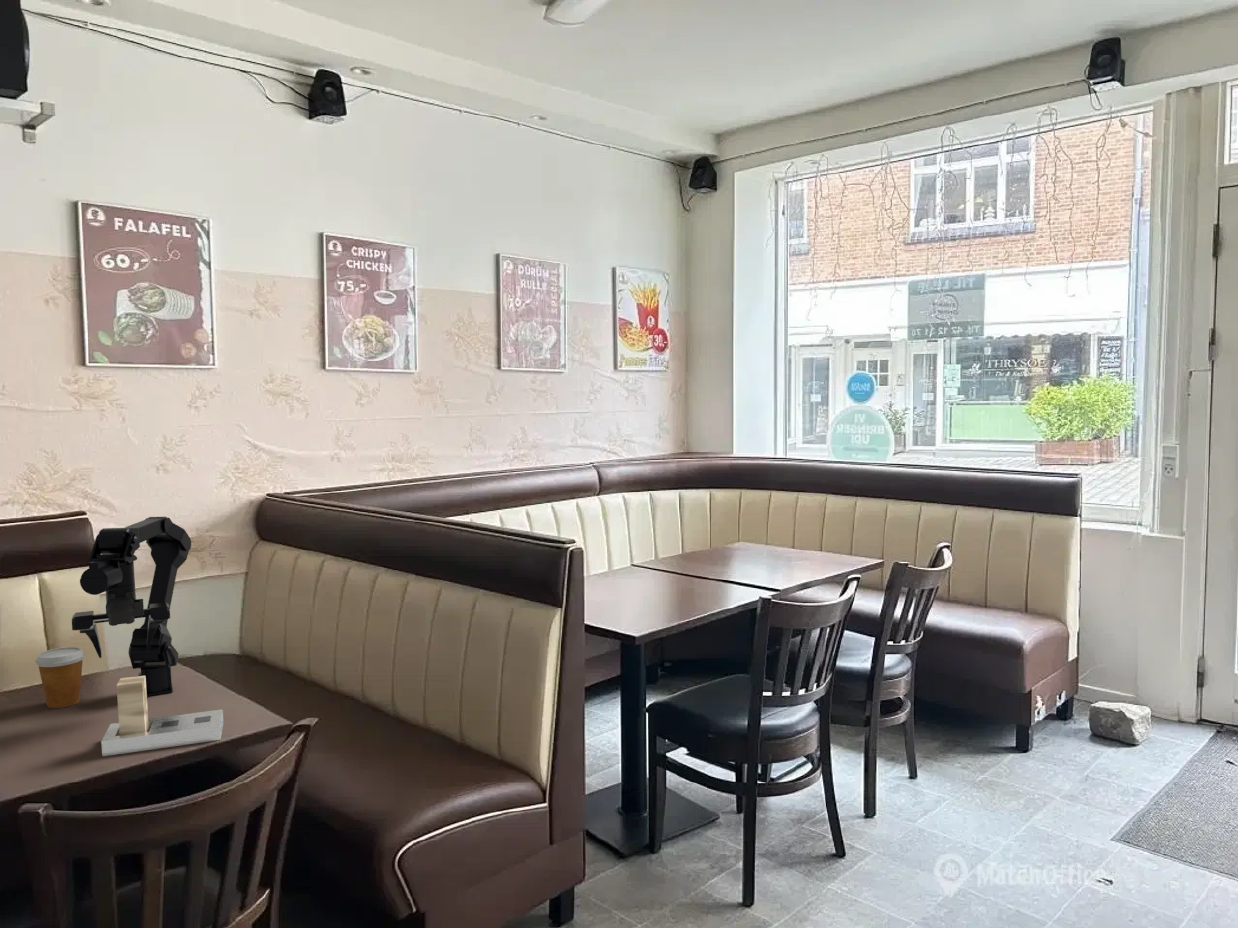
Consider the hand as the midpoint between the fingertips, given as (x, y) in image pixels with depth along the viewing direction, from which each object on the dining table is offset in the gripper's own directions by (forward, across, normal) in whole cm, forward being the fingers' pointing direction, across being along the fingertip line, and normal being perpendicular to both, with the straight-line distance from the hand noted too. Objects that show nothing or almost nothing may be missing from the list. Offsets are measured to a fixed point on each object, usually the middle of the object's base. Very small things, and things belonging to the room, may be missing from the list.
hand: (124, 654), depth 196 cm
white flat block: (+13, +7, -22) cm, 27 cm away
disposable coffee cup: (+13, -13, +14) cm, 23 cm away
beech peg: (+13, +1, -22) cm, 25 cm away
